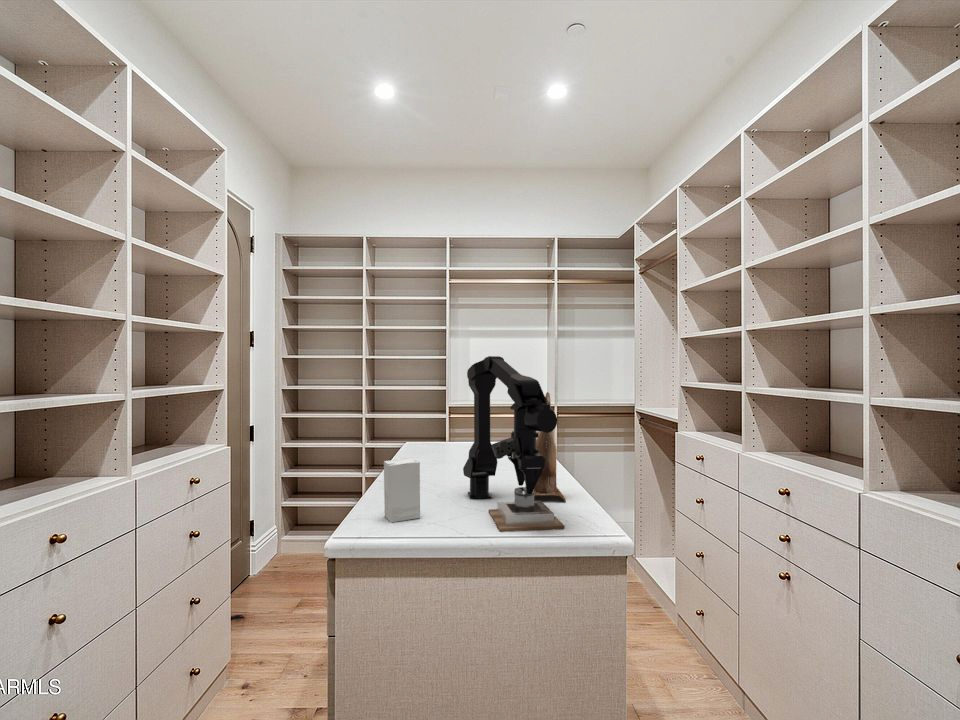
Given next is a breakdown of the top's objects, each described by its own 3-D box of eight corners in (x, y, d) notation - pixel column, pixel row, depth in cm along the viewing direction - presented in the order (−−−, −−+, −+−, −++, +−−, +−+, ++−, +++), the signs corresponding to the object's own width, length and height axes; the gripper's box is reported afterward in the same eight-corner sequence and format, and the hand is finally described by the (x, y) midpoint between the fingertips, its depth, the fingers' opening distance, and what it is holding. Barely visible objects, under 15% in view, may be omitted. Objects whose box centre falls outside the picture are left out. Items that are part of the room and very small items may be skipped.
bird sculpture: (528, 504, 143) (530, 393, 142) (522, 492, 155) (524, 390, 154) (566, 504, 144) (568, 393, 143) (557, 492, 155) (559, 390, 155)
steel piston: (512, 514, 129) (512, 487, 129) (531, 513, 130) (531, 486, 130) (516, 520, 124) (516, 492, 124) (536, 519, 125) (536, 491, 125)
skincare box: (413, 513, 133) (414, 457, 133) (421, 519, 127) (421, 461, 127) (382, 517, 129) (383, 459, 129) (389, 523, 124) (389, 463, 124)
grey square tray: (497, 511, 132) (497, 502, 132) (541, 509, 133) (541, 500, 134) (506, 525, 120) (506, 515, 120) (554, 523, 122) (554, 513, 122)
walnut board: (488, 512, 133) (488, 509, 133) (546, 510, 136) (546, 507, 136) (499, 531, 118) (499, 528, 118) (564, 529, 120) (564, 525, 120)
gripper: (488, 424, 135) (487, 482, 135) (501, 433, 117) (500, 500, 116) (527, 424, 137) (527, 481, 136) (547, 432, 118) (546, 498, 118)
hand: (524, 489), depth 127 cm, fingers open, 9 cm apart
